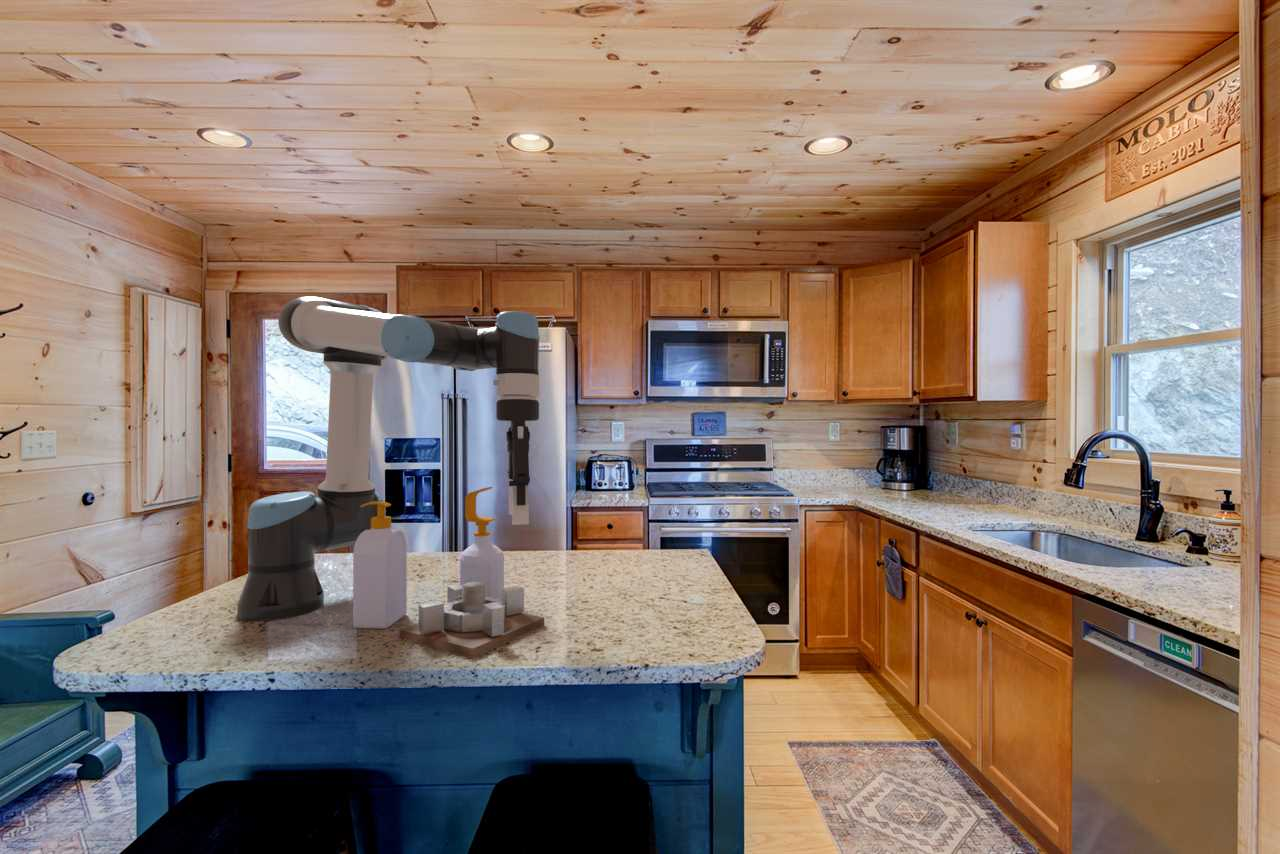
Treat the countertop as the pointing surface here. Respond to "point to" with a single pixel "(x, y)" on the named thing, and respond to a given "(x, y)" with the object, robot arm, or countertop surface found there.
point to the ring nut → (453, 618)
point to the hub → (473, 640)
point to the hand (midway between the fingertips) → (518, 519)
